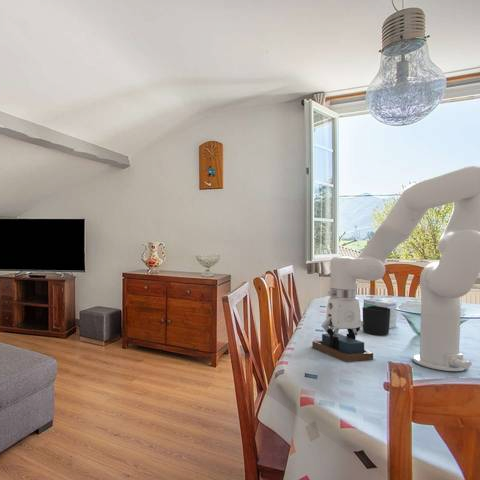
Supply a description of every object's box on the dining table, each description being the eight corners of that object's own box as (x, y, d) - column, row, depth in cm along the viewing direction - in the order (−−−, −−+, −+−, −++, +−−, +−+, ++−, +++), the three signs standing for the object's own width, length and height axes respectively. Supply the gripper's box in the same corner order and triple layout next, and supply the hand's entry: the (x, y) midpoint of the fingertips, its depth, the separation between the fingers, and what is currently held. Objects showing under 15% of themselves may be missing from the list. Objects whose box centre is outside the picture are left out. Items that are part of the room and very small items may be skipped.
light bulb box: (362, 323, 176) (362, 298, 176) (372, 321, 179) (372, 297, 179) (387, 328, 167) (387, 303, 166) (397, 327, 170) (397, 301, 169)
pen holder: (393, 336, 155) (394, 311, 155) (366, 335, 157) (367, 309, 157) (383, 330, 164) (384, 306, 164) (358, 329, 166) (359, 305, 166)
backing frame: (373, 359, 128) (373, 352, 128) (346, 361, 126) (346, 355, 126) (336, 345, 144) (336, 339, 143) (312, 347, 141) (312, 341, 141)
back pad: (364, 353, 129) (364, 342, 129) (348, 354, 128) (348, 343, 128) (336, 342, 141) (336, 332, 141) (321, 344, 140) (321, 334, 140)
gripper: (328, 296, 128) (328, 352, 129) (373, 294, 132) (373, 348, 133) (312, 293, 136) (312, 345, 136) (355, 290, 140) (355, 342, 140)
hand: (342, 346), depth 135 cm, fingers closed on back pad, 6 cm apart
